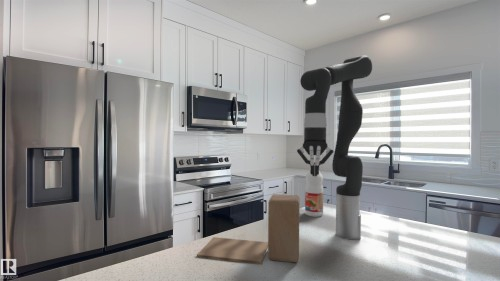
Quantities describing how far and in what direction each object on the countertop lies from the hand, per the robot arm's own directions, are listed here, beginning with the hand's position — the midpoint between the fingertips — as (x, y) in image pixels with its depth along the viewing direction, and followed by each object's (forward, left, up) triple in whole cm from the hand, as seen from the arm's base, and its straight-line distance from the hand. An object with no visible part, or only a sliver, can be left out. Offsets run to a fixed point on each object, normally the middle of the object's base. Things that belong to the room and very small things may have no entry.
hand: (314, 175), depth 92 cm
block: (+10, +5, -27) cm, 29 cm away
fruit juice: (-1, -48, -27) cm, 55 cm away
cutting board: (+27, +5, -27) cm, 39 cm away
